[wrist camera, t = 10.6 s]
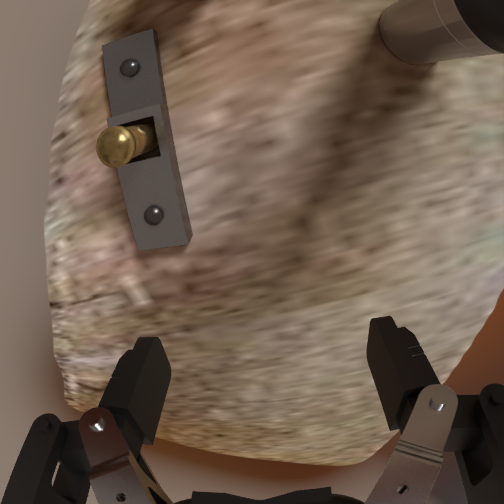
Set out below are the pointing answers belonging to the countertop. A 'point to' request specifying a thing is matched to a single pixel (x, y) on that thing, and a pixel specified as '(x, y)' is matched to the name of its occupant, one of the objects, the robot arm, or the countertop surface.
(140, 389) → the robot arm
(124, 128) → the link pin
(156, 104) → the link plates
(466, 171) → the countertop surface
